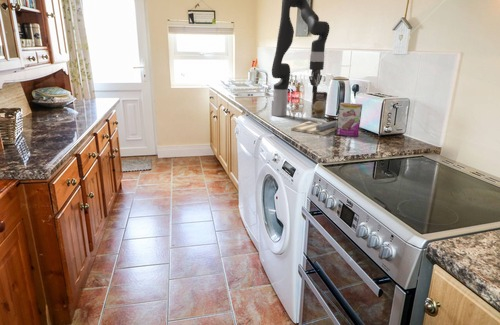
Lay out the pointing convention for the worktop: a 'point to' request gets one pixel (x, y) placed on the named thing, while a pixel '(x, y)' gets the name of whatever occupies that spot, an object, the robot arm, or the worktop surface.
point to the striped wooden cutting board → (312, 128)
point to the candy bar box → (349, 119)
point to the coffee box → (318, 104)
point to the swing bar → (326, 125)
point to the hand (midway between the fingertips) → (314, 92)
